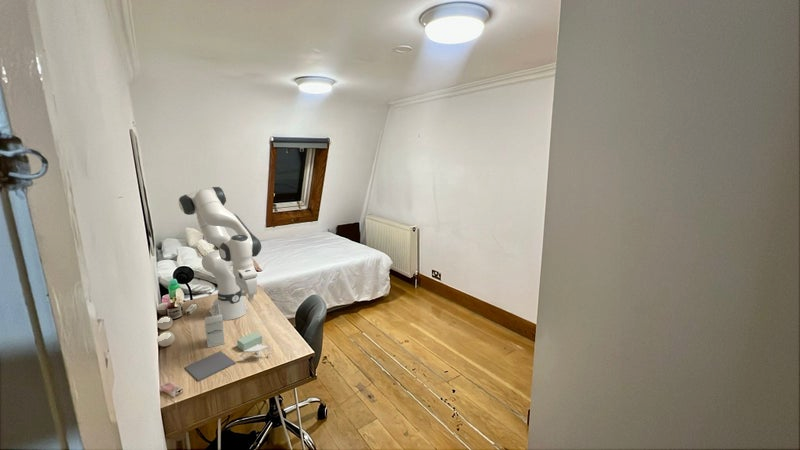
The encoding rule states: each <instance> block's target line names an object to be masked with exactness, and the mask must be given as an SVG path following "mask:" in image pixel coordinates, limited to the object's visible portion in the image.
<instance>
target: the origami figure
mask: <svg viewBox="0 0 800 450" xmlns="http://www.w3.org/2000/svg"><path fill="white" fill-rule="evenodd" d="M266 349H267V351H268V352H269V353H268V354H266V355H267V357H268V358H269V357H270V355H271V354H272V351H271V348H270V346H268V345H264V344H263V345H262V344H259V345H256V346H253V347H251V348H249V349H247V350H245V351H243V352H242V353H241V354H240V355H239V357H241V358H242V359H244V360H245V361H247V358H246V357H244V356H243V355H245V354H251V353H256V354H257V355H258V356H257V357H258V361H261V352H262V351H264V350H266Z"/></svg>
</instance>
